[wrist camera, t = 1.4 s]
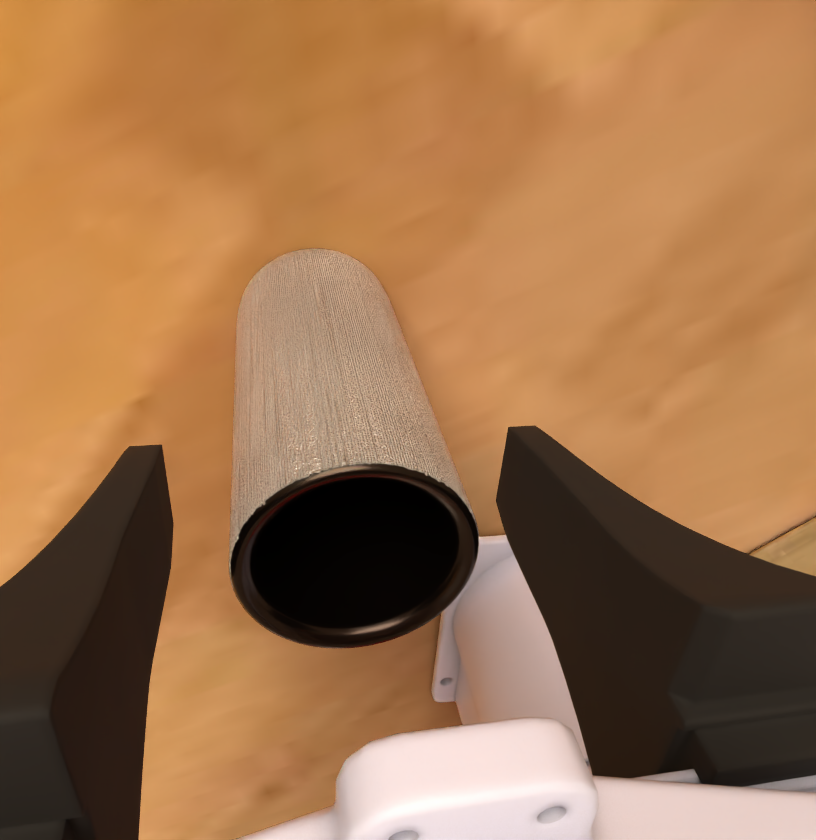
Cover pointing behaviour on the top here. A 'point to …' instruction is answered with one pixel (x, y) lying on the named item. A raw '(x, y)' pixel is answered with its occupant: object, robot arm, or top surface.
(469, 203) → the top surface
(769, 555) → the caddy
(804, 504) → the top surface
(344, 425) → the planter
